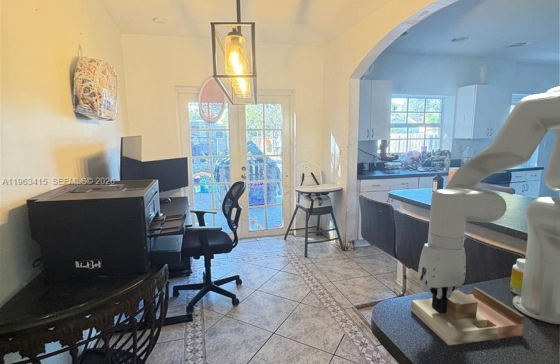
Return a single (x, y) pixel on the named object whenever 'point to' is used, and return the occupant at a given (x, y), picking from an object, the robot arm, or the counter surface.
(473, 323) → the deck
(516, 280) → the supplement bottle
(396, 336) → the counter surface
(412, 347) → the counter surface
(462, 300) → the block
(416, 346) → the counter surface
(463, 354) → the counter surface
